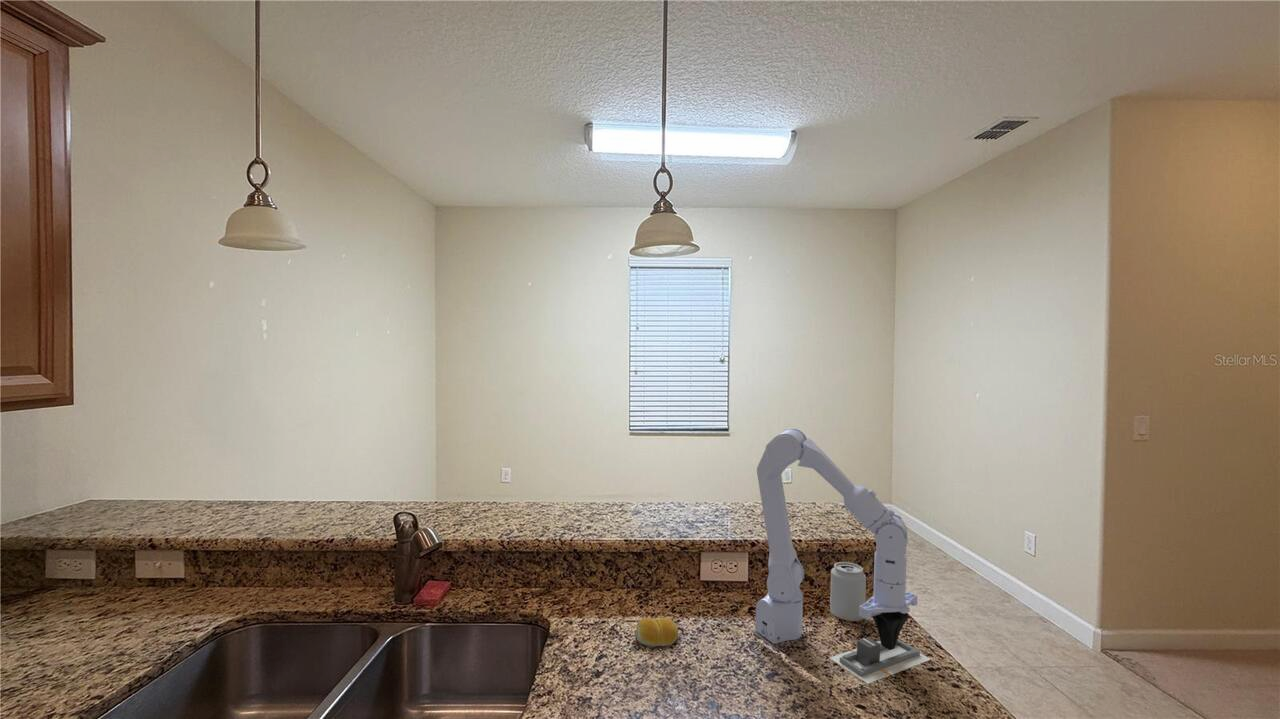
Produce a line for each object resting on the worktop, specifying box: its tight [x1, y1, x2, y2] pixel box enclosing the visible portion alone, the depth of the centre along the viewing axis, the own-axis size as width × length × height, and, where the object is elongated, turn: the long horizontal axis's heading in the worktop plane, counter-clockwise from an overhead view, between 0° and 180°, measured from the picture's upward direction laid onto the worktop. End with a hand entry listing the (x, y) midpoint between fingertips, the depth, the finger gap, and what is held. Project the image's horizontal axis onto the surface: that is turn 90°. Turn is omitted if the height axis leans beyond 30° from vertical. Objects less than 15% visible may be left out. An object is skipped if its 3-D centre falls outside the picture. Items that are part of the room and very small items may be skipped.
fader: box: [856, 636, 880, 667], centre depth 103 cm, size 3×3×4 cm
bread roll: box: [635, 616, 679, 648], centre depth 113 cm, size 8×9×4 cm
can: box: [829, 561, 867, 622], centre depth 123 cm, size 8×8×12 cm
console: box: [829, 638, 932, 685], centre depth 104 cm, size 18×9×2 cm, turn 117°
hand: (887, 646), depth 105 cm, fingers closed
